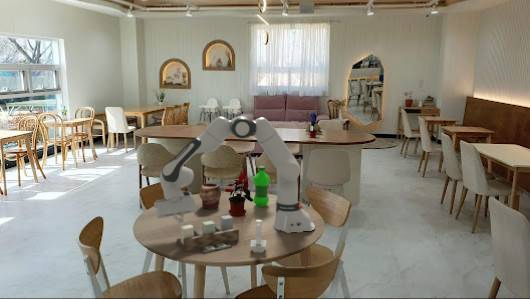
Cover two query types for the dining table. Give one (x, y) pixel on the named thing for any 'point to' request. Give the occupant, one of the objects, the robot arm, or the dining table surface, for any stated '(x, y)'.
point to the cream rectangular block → (187, 232)
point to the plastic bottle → (261, 187)
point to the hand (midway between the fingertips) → (180, 222)
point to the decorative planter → (210, 195)
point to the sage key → (208, 227)
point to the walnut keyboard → (210, 240)
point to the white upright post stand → (258, 239)
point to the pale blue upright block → (226, 222)
